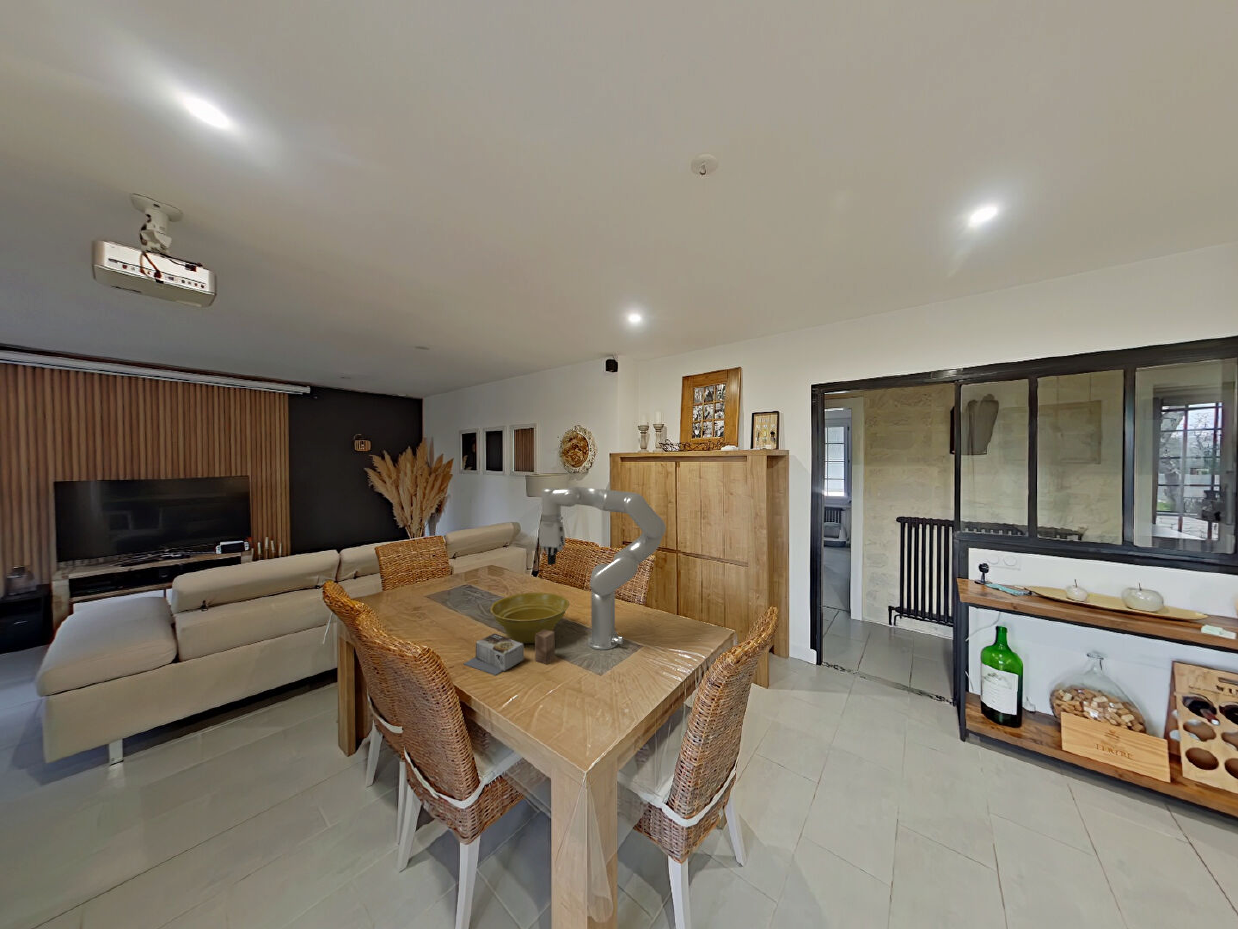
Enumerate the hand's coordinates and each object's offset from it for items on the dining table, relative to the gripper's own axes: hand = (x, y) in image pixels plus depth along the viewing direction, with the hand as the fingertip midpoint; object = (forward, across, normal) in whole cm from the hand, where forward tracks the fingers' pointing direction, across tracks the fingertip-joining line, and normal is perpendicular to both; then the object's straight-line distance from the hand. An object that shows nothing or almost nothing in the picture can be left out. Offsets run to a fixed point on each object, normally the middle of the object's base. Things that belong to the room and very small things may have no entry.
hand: (551, 564), depth 162 cm
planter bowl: (+32, +12, -1) cm, 35 cm away
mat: (+32, +10, +22) cm, 40 cm away
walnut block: (+32, -6, +12) cm, 35 cm away
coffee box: (+29, 0, +21) cm, 36 cm away
